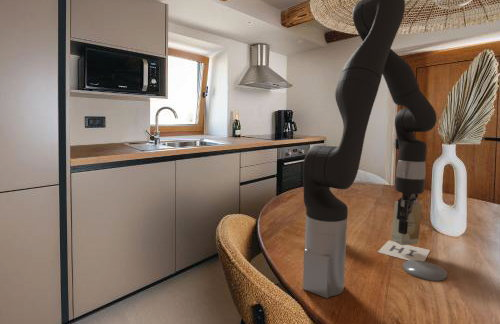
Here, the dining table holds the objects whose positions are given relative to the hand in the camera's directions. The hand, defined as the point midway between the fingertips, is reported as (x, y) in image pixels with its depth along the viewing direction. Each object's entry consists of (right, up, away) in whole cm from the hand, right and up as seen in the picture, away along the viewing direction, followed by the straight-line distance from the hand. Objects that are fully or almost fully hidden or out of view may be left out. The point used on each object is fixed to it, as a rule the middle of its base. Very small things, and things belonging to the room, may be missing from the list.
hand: (405, 230), depth 88 cm
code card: (0, -7, +1) cm, 7 cm away
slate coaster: (-1, -8, -11) cm, 14 cm away
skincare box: (0, -4, 0) cm, 4 cm away
